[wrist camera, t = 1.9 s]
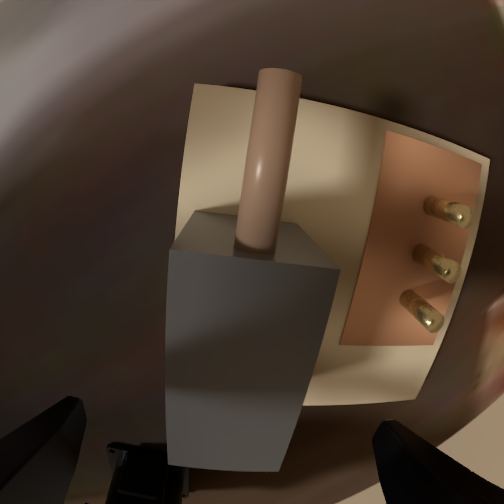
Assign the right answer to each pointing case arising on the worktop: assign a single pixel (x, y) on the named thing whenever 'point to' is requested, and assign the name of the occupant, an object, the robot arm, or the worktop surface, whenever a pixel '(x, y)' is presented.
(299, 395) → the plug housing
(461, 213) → the header pins
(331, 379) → the birch board
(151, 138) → the worktop surface
